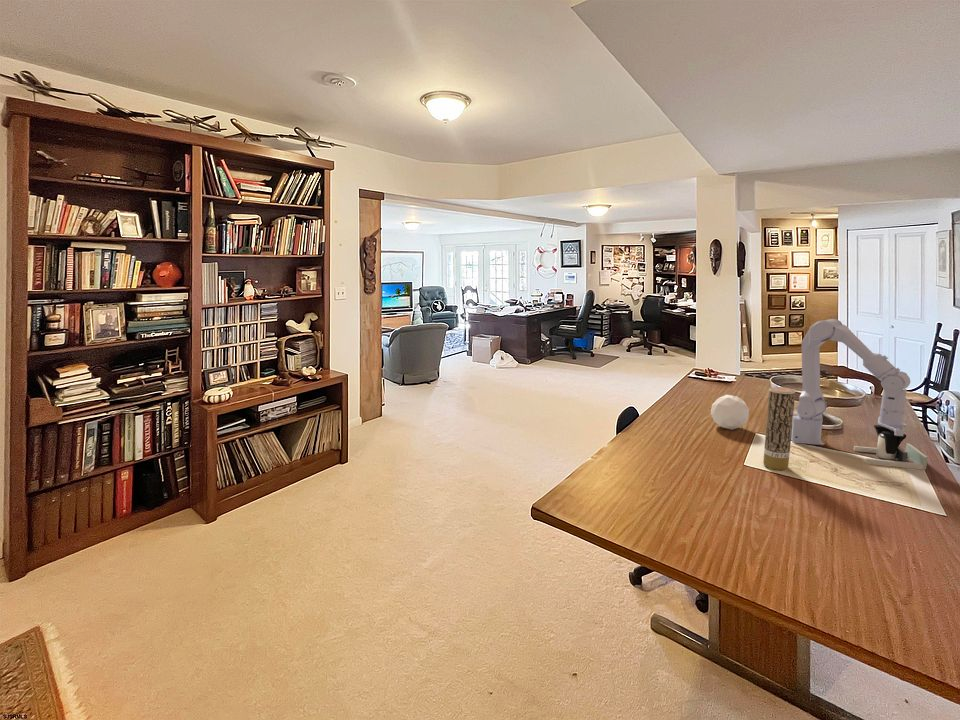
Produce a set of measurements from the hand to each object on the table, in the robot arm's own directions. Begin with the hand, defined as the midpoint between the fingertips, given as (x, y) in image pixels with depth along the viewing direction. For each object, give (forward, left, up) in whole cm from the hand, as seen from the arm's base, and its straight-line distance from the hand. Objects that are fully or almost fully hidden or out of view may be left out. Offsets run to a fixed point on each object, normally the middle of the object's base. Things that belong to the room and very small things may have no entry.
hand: (887, 450), depth 156 cm
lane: (0, 0, -3) cm, 3 cm away
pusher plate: (+3, 0, -3) cm, 4 cm away
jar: (0, 0, -2) cm, 2 cm away
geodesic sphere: (-44, +20, -3) cm, 48 cm away
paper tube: (-34, -18, -3) cm, 39 cm away
